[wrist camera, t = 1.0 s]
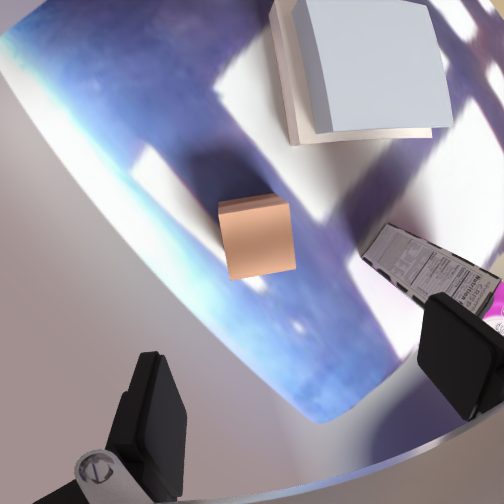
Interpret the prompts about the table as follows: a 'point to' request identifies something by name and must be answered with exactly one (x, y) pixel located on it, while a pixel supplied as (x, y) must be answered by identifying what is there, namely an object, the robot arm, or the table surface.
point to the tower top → (371, 65)
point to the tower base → (297, 88)
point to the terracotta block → (257, 235)
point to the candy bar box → (436, 274)
